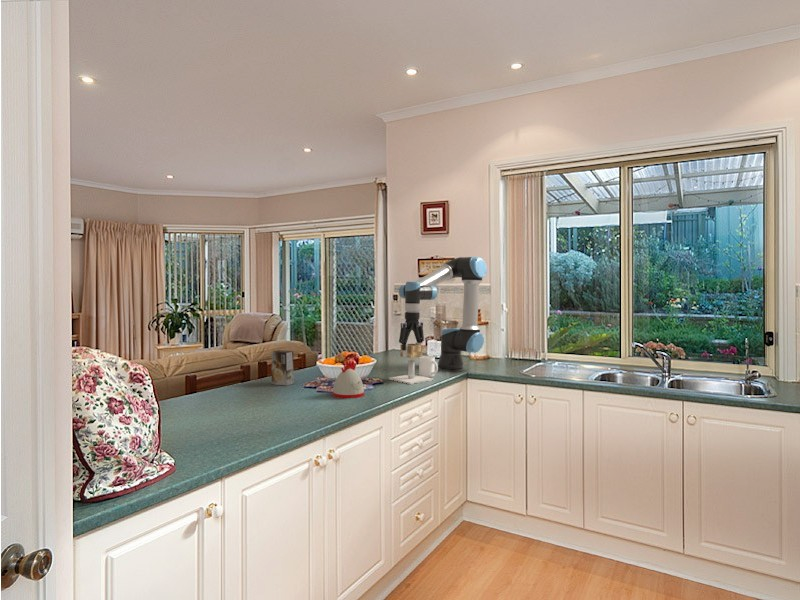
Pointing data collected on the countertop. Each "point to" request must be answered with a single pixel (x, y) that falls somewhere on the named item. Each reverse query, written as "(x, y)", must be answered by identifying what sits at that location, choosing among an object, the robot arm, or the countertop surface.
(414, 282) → the robot arm
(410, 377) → the post stand
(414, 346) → the collar
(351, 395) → the kitchen timer
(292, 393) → the countertop surface
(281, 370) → the coffee box
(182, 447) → the countertop surface
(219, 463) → the countertop surface
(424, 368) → the mug
